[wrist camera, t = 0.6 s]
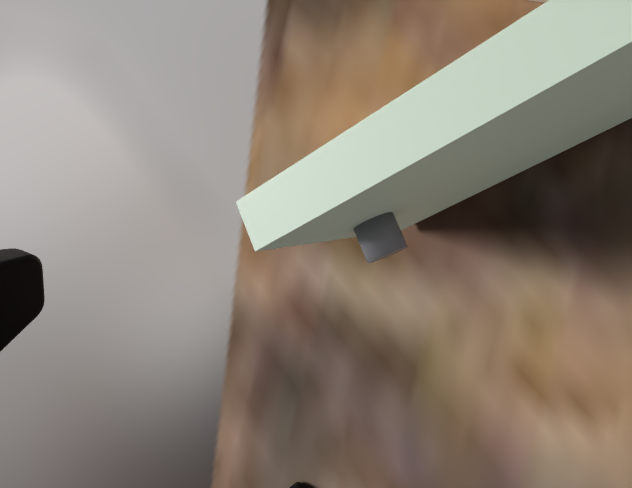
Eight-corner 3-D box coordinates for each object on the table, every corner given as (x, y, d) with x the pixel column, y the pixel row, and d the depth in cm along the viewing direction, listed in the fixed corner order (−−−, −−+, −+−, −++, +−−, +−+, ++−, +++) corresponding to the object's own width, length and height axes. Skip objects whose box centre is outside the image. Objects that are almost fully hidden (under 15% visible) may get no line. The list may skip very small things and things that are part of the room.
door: (749, 103, 17) (845, 10, 8) (412, 255, 23) (271, 292, 14) (706, 27, 17) (755, -136, 9) (387, 197, 23) (235, 200, 15)
